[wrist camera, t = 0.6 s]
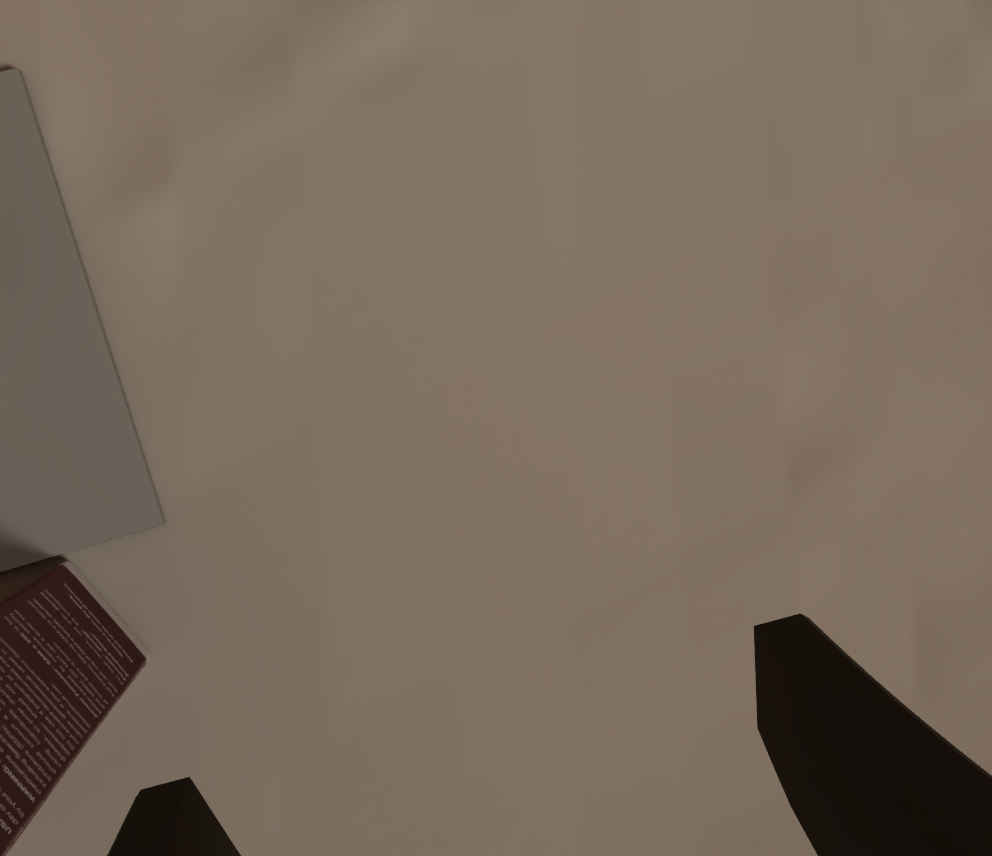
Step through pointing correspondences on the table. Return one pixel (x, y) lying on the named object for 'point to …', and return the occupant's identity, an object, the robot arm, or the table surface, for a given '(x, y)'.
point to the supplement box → (55, 685)
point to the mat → (56, 371)
